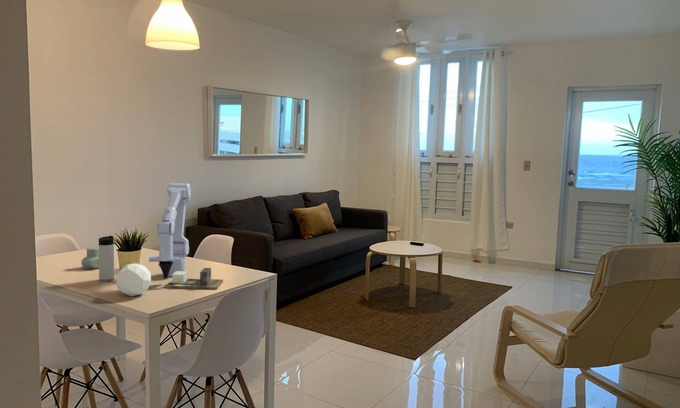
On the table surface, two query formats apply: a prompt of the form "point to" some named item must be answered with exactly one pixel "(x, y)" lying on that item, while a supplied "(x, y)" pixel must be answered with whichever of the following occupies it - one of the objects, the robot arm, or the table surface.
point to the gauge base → (198, 282)
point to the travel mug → (106, 259)
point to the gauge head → (179, 277)
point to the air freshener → (91, 258)
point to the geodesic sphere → (133, 279)
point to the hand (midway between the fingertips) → (166, 277)
